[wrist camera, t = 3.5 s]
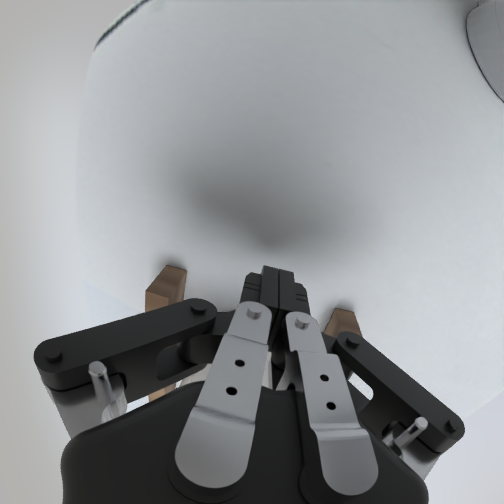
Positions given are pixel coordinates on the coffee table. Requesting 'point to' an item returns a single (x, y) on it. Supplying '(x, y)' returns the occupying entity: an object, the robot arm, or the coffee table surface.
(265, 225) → the coffee table surface
